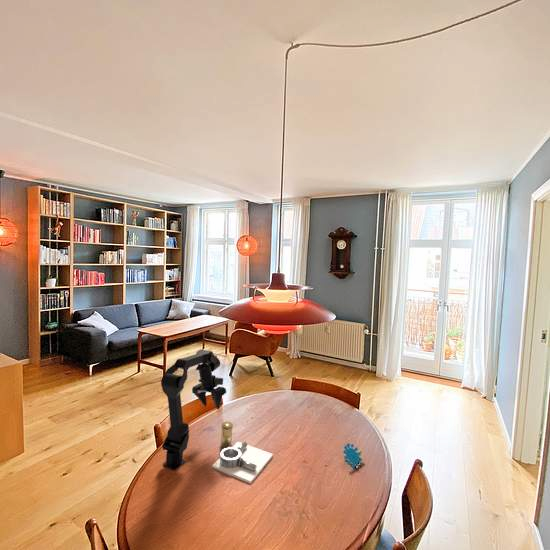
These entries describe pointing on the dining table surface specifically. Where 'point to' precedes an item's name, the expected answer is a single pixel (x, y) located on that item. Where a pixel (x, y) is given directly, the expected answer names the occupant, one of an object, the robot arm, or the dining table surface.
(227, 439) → the cylinder
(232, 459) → the steel cradle
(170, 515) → the dining table surface
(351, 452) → the gear
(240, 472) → the mounting plate
